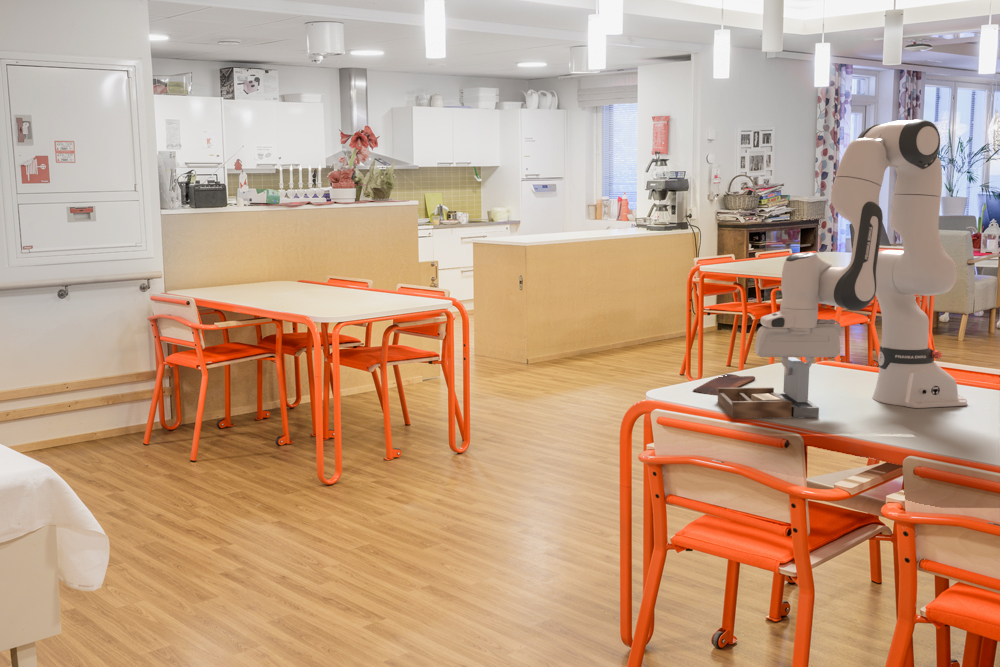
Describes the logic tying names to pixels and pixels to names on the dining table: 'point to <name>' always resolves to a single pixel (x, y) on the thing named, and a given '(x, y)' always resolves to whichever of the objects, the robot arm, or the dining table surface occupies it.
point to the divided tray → (752, 403)
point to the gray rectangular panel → (797, 380)
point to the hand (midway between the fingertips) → (796, 374)
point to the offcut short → (764, 397)
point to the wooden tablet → (724, 383)
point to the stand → (801, 408)
